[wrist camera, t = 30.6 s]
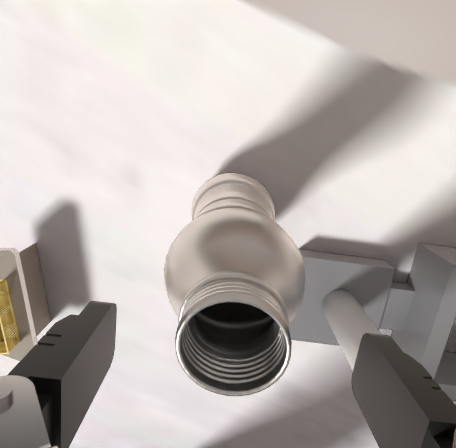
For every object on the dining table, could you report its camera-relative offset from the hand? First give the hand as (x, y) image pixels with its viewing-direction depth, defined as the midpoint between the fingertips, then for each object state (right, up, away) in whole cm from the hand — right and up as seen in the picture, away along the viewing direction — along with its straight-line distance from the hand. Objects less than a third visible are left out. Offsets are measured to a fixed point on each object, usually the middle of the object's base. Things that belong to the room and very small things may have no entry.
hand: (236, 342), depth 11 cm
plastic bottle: (0, +5, +19) cm, 20 cm away
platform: (-18, -2, +22) cm, 29 cm away
